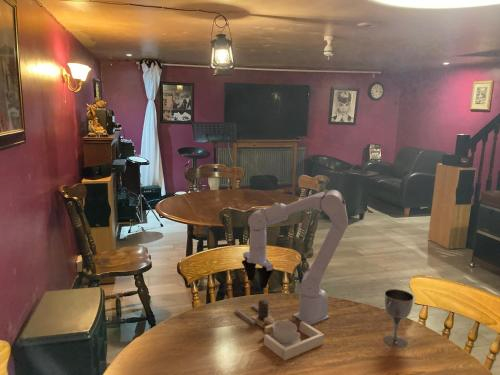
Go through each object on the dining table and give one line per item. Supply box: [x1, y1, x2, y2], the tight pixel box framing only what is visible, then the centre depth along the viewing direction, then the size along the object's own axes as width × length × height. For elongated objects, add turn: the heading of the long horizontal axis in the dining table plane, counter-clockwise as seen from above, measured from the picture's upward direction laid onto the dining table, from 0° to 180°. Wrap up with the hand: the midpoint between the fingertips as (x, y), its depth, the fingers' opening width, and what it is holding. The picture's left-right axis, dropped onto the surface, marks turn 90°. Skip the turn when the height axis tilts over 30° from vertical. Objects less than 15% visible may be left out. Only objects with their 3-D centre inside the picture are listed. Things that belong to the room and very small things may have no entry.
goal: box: [263, 320, 325, 361], centre depth 119 cm, size 15×10×3 cm, turn 125°
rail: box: [234, 303, 274, 326], centre depth 136 cm, size 8×11×1 cm
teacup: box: [268, 320, 302, 348], centre depth 121 cm, size 10×10×5 cm
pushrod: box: [251, 299, 293, 335], centre depth 129 cm, size 10×12×7 cm
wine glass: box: [382, 288, 414, 348], centre depth 121 cm, size 8×8×15 cm
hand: (257, 283), depth 138 cm, fingers open, 7 cm apart
